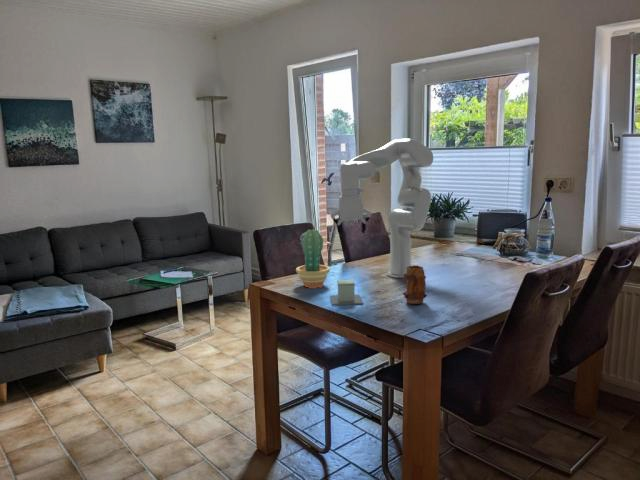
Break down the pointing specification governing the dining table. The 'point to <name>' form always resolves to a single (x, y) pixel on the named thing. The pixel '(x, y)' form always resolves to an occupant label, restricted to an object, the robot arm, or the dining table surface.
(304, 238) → the potted cactus
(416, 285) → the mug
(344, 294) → the tea tin
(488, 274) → the dining table surface
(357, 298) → the slate coaster
